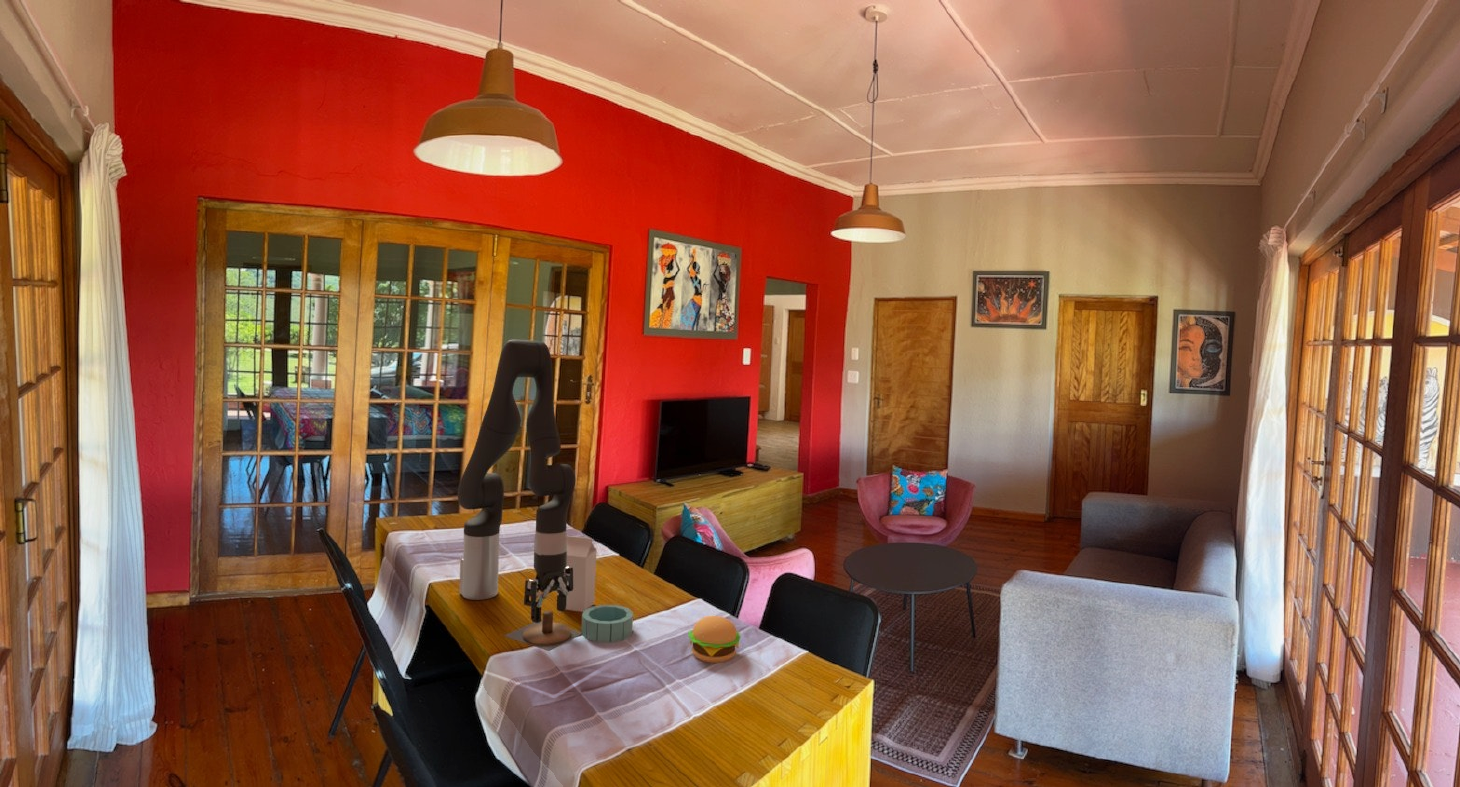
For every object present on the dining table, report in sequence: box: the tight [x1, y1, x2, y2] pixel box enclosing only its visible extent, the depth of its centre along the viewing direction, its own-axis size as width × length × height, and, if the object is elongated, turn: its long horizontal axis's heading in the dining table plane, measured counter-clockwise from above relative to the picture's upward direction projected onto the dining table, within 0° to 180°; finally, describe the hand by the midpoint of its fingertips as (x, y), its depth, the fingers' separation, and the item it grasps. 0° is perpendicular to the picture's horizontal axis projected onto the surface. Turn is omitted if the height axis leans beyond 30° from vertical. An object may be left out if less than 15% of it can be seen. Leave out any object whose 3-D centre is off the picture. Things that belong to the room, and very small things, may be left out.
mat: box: [503, 619, 582, 652], centre depth 173 cm, size 14×12×1 cm
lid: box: [523, 610, 571, 645], centre depth 172 cm, size 11×11×6 cm
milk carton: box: [565, 535, 597, 613], centre depth 192 cm, size 7×7×19 cm
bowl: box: [580, 604, 634, 643], centre depth 177 cm, size 12×12×5 cm
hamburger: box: [688, 615, 741, 664], centre depth 168 cm, size 12×12×9 cm
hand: (548, 616), depth 172 cm, fingers open, 8 cm apart
